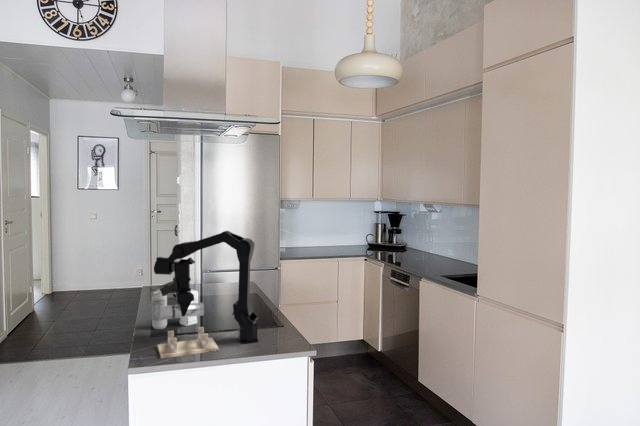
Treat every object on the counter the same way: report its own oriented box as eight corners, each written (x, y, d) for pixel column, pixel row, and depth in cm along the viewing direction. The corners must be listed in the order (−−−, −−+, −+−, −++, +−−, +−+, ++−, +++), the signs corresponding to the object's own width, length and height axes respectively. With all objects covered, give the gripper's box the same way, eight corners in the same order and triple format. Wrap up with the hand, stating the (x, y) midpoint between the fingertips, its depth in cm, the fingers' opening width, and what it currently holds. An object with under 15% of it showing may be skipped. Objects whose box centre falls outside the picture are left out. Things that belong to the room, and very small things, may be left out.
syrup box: (190, 321, 200) (190, 288, 199) (198, 323, 196) (198, 290, 195) (179, 324, 196) (178, 291, 195) (187, 326, 192) (187, 293, 191)
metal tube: (201, 313, 184) (201, 301, 183) (204, 317, 179) (204, 304, 179) (160, 317, 177) (160, 304, 177) (161, 321, 172) (161, 308, 172)
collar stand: (211, 339, 176) (211, 324, 176) (218, 350, 166) (218, 334, 165) (157, 347, 168) (157, 331, 168) (160, 358, 157) (160, 341, 157)
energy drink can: (169, 325, 194) (169, 290, 193) (163, 329, 188) (163, 294, 187) (155, 324, 194) (155, 290, 193) (149, 329, 188) (149, 293, 187)
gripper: (158, 272, 182) (158, 310, 183) (163, 281, 165) (163, 323, 166) (186, 270, 187) (186, 307, 188) (194, 279, 170) (194, 319, 171)
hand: (182, 314), depth 178 cm, fingers closed on metal tube, 5 cm apart
